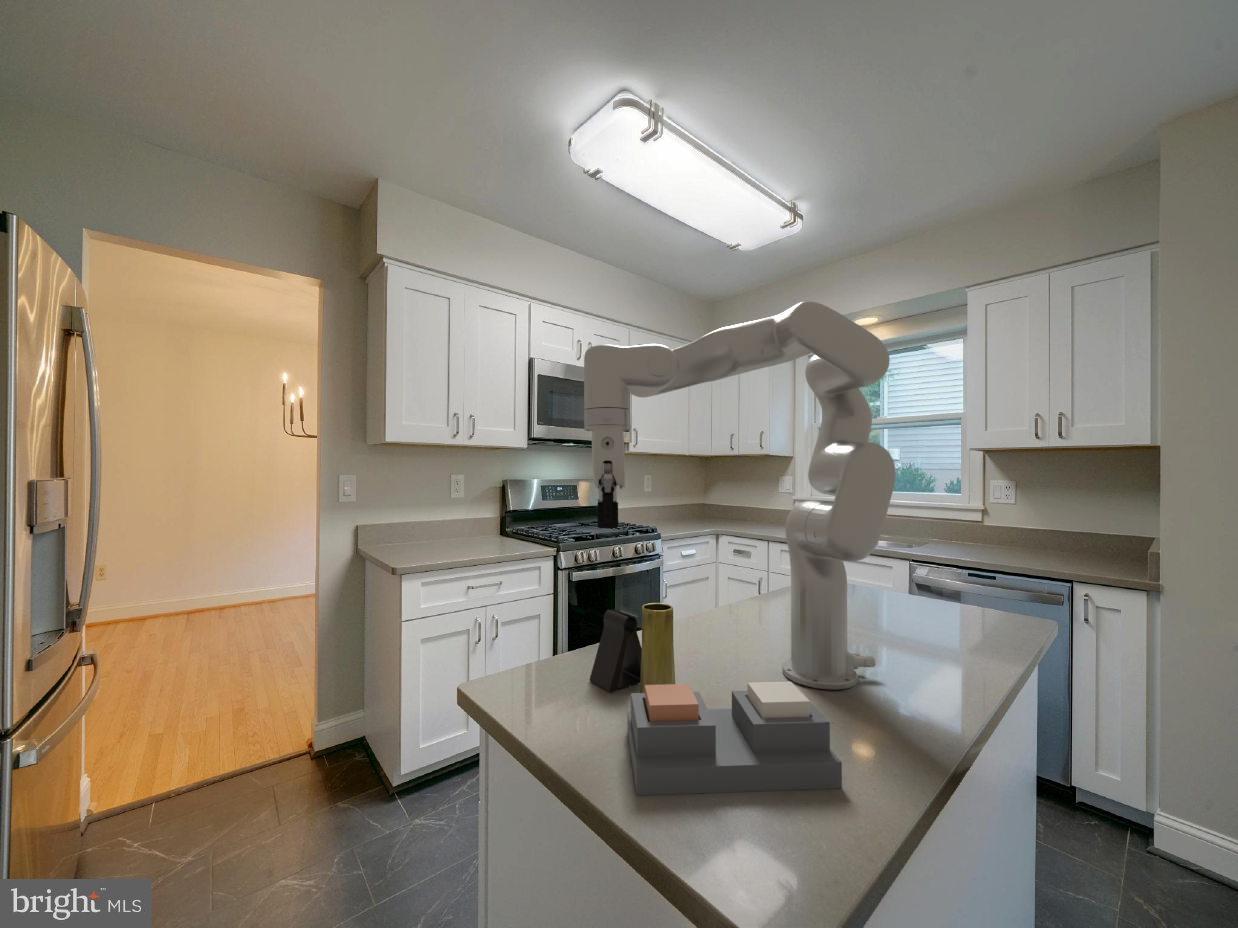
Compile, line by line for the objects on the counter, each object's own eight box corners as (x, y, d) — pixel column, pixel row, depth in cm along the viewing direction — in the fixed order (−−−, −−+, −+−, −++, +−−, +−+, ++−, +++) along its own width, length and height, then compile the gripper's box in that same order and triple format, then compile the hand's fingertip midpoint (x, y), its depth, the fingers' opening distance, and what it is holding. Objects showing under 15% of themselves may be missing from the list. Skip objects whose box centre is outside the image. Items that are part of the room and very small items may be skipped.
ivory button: (790, 703, 69) (790, 681, 69) (810, 725, 63) (809, 701, 63) (747, 704, 69) (747, 682, 69) (762, 726, 63) (762, 702, 63)
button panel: (793, 727, 73) (793, 682, 73) (841, 787, 59) (841, 731, 59) (627, 732, 72) (627, 686, 72) (636, 795, 58) (636, 737, 58)
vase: (665, 703, 81) (665, 613, 81) (632, 694, 84) (632, 608, 85) (682, 689, 86) (681, 605, 86) (650, 681, 89) (650, 600, 90)
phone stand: (609, 693, 85) (609, 621, 85) (589, 681, 90) (589, 613, 90) (650, 680, 90) (650, 612, 90) (629, 669, 95) (629, 605, 95)
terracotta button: (689, 706, 68) (689, 683, 69) (698, 728, 62) (698, 704, 63) (644, 707, 68) (644, 684, 68) (650, 729, 62) (650, 705, 62)
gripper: (632, 415, 76) (633, 530, 76) (627, 426, 93) (627, 519, 93) (582, 415, 76) (582, 531, 76) (586, 426, 93) (586, 520, 93)
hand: (607, 524), depth 84 cm, fingers open, 9 cm apart
